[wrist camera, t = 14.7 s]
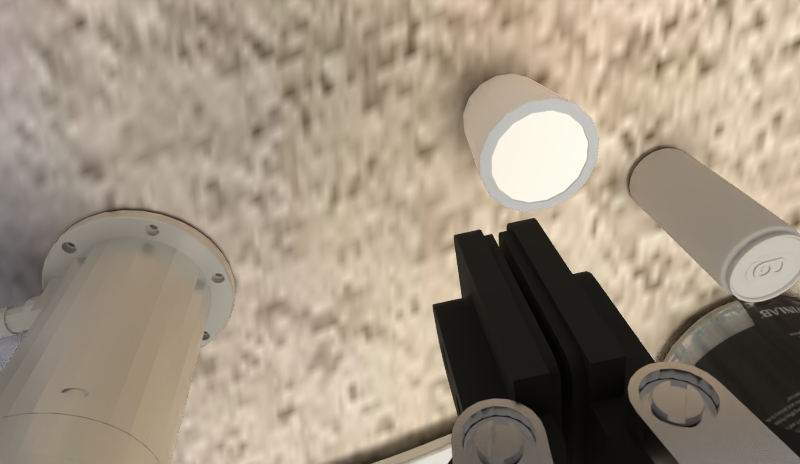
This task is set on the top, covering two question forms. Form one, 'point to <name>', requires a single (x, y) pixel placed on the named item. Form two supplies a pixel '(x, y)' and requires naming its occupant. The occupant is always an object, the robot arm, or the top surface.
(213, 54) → the top surface
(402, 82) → the top surface
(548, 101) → the white short cylinder
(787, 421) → the supplement tub
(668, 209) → the beverage can
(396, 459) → the square plate
